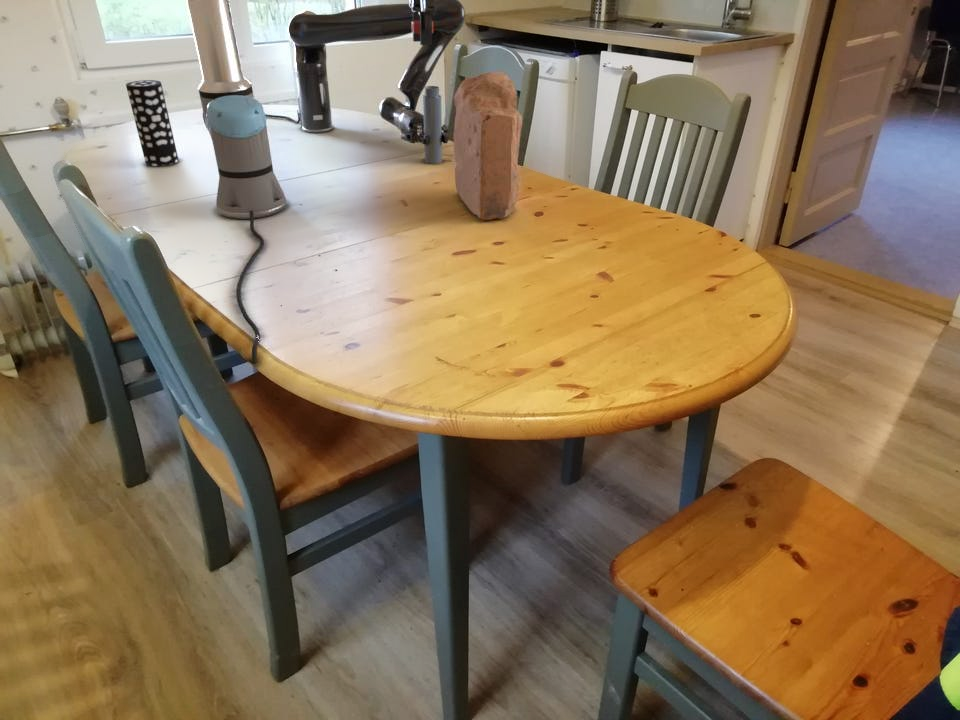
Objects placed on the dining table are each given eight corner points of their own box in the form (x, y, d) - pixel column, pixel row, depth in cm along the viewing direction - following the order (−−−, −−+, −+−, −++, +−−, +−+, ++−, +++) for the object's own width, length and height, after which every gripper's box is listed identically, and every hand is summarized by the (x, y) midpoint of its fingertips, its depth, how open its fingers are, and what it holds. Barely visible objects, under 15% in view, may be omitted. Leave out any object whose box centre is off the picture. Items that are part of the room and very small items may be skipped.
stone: (529, 217, 153) (533, 83, 139) (481, 223, 150) (480, 86, 136) (496, 190, 171) (497, 69, 157) (453, 195, 168) (450, 71, 154)
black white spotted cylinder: (184, 157, 190) (167, 80, 179) (169, 166, 183) (151, 87, 172) (155, 156, 190) (136, 79, 179) (139, 165, 183) (119, 86, 172)
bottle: (445, 161, 190) (444, 87, 180) (434, 165, 187) (432, 90, 177) (432, 157, 193) (430, 84, 182) (421, 161, 189) (418, 87, 179)
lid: (407, 31, 167) (407, 20, 166) (425, 30, 170) (425, 19, 169) (419, 34, 164) (418, 23, 162) (437, 33, 166) (437, 22, 165)
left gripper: (450, -68, 150) (449, 48, 162) (424, -70, 164) (425, 37, 176) (417, -69, 147) (419, 49, 160) (393, -71, 161) (397, 38, 174)
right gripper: (390, 114, 193) (410, 129, 180) (437, 110, 198) (461, 123, 185) (391, 141, 197) (412, 157, 184) (438, 136, 202) (461, 151, 189)
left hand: (422, 42), depth 168 cm, fingers closed on lid, 5 cm apart
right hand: (436, 140), depth 184 cm, fingers closed on bottle, 5 cm apart
